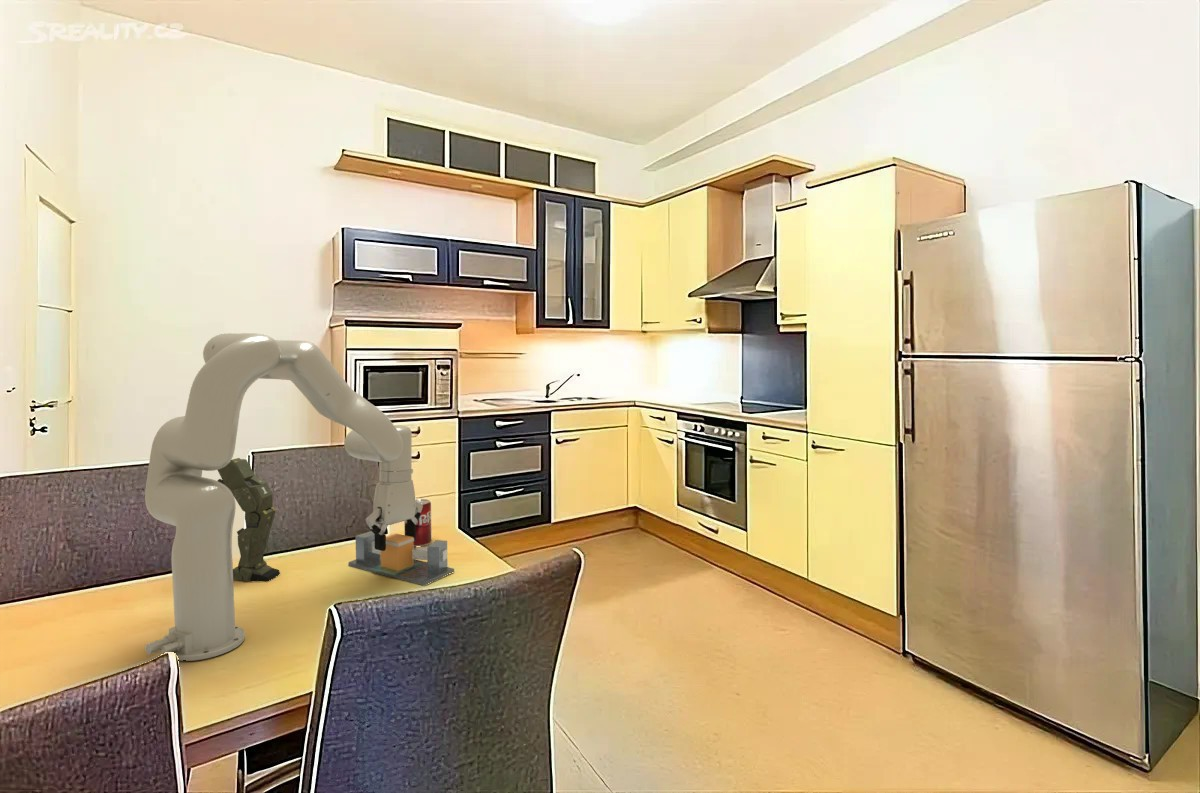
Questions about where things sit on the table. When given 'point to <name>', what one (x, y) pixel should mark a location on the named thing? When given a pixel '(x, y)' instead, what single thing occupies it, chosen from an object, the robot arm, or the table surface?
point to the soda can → (423, 524)
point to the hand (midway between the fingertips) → (395, 544)
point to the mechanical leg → (251, 519)
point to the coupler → (398, 552)
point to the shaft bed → (416, 573)
